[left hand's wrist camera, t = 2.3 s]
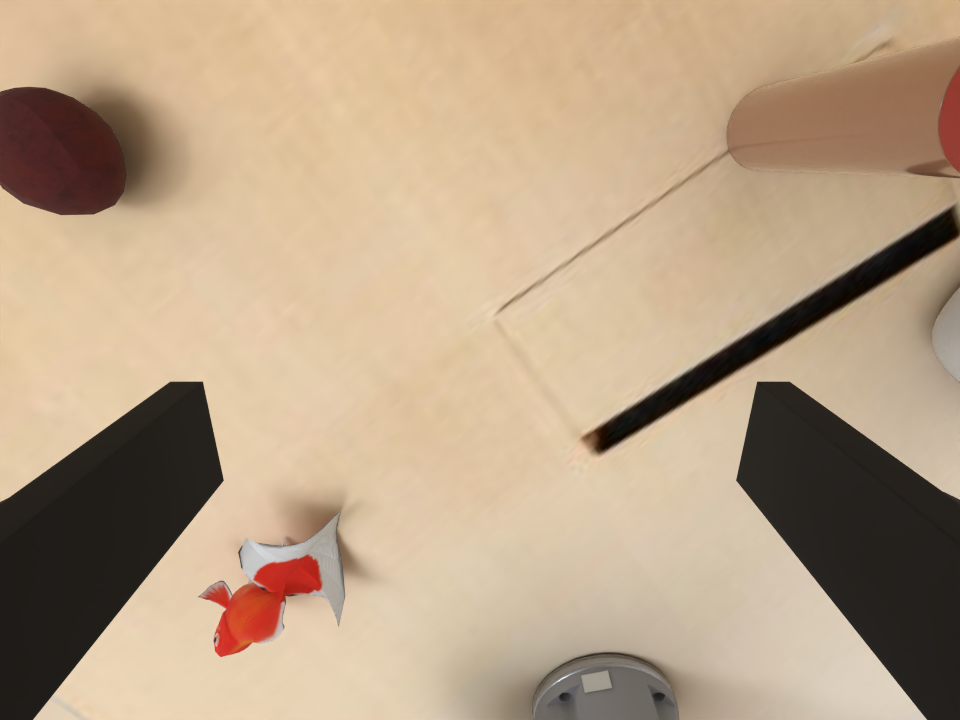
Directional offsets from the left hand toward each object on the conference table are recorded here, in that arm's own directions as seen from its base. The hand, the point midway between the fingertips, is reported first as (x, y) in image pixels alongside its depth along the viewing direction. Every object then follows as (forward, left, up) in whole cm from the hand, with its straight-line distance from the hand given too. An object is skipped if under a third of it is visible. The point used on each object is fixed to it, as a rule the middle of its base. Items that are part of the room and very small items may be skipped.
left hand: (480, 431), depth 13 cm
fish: (-28, +18, -28) cm, 44 cm away
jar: (+8, -20, -28) cm, 35 cm away
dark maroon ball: (+6, +27, -28) cm, 39 cm away
